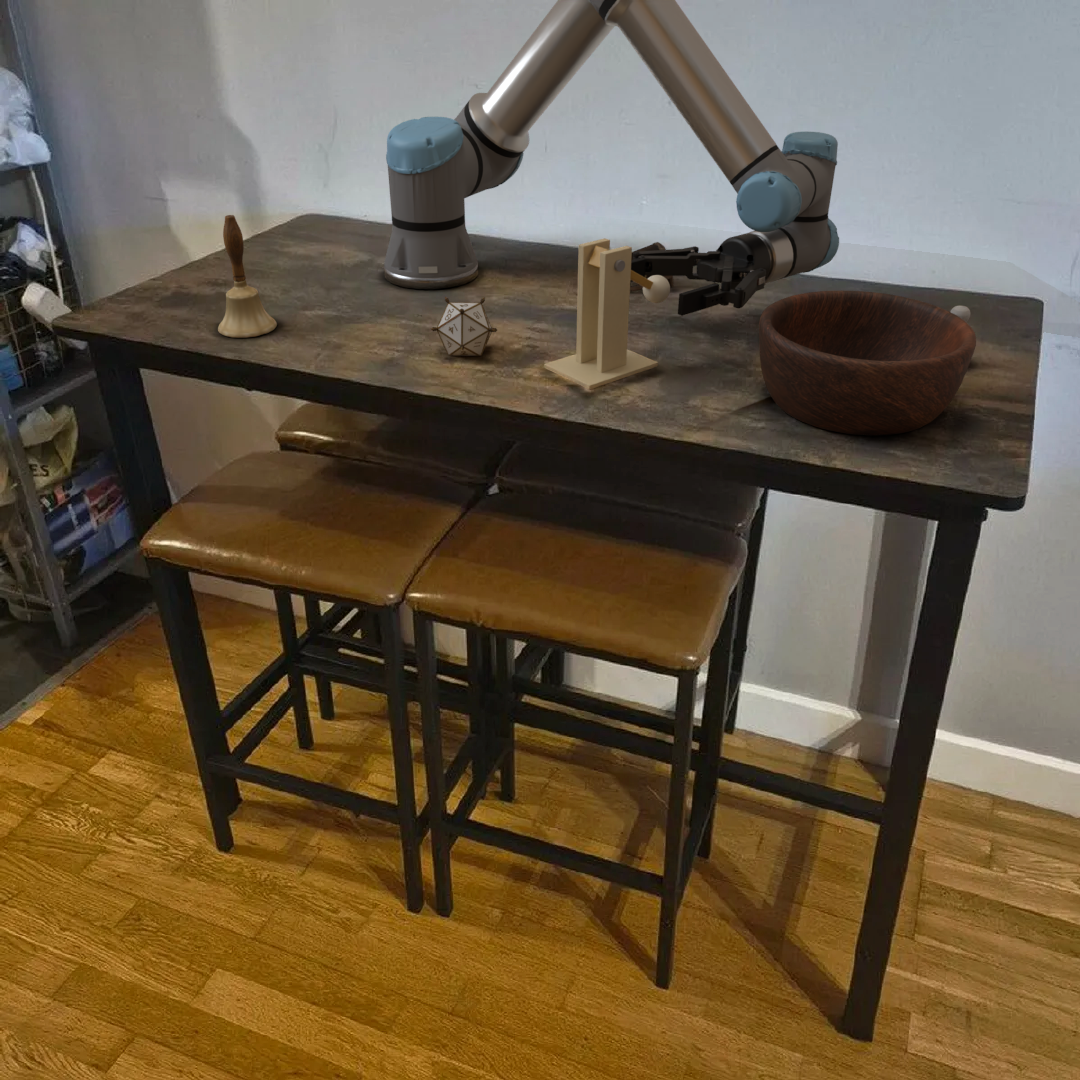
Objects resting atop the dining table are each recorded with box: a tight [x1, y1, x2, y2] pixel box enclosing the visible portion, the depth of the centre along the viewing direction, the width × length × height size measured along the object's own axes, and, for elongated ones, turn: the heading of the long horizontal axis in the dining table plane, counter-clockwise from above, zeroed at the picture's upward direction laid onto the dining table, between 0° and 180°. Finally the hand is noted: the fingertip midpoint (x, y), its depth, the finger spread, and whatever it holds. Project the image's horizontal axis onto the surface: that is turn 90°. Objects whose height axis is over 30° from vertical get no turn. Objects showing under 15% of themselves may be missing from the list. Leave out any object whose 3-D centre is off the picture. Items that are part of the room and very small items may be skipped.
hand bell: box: [217, 214, 278, 339], centre depth 149 cm, size 8×8×16 cm
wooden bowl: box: [758, 289, 977, 437], centre depth 129 cm, size 25×25×10 cm
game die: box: [430, 296, 498, 357], centre depth 142 cm, size 9×8×10 cm
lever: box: [588, 246, 671, 304], centre depth 136 cm, size 14×4×4 cm
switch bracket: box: [543, 238, 659, 391], centre depth 135 cm, size 12×9×17 cm
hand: (642, 290), depth 138 cm, fingers open, 13 cm apart
